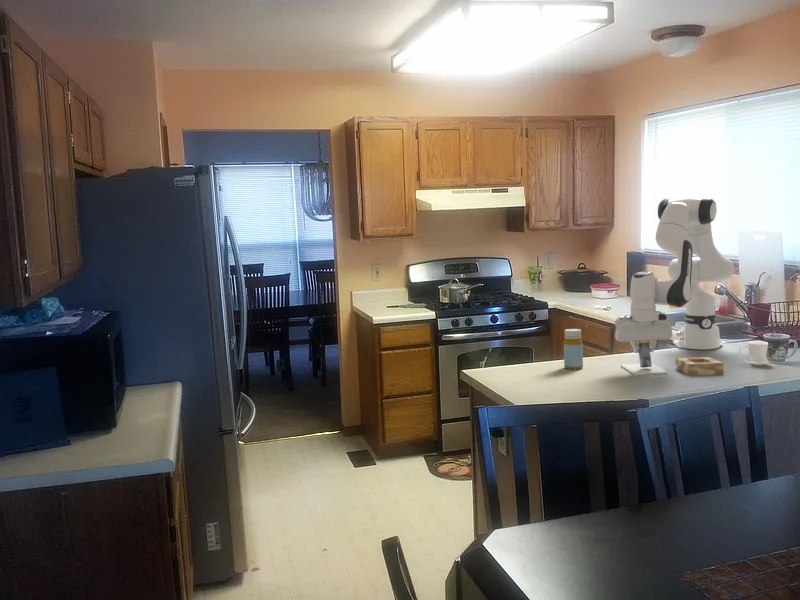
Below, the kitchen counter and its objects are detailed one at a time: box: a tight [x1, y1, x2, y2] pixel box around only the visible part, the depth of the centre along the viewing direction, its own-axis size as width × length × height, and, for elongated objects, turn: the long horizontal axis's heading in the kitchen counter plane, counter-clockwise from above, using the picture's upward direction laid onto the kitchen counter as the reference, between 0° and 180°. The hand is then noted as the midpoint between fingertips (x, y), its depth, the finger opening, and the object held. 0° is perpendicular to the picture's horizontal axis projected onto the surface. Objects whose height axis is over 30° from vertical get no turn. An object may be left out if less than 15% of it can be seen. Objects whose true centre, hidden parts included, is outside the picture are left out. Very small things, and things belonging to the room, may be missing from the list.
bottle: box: [563, 328, 584, 370], centre depth 260 cm, size 7×7×15 cm
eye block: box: [675, 356, 724, 377], centre depth 245 cm, size 12×12×4 cm
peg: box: [636, 340, 653, 368], centre depth 250 cm, size 4×4×10 cm
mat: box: [620, 363, 669, 376], centre depth 251 cm, size 16×12×1 cm
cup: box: [738, 340, 769, 366], centre depth 253 cm, size 7×10×8 cm
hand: (643, 352), depth 250 cm, fingers closed on peg, 4 cm apart
